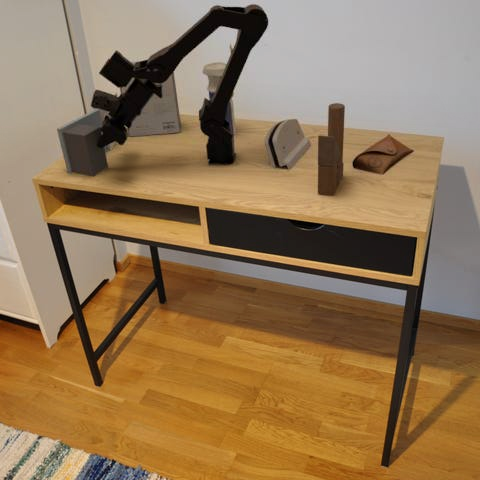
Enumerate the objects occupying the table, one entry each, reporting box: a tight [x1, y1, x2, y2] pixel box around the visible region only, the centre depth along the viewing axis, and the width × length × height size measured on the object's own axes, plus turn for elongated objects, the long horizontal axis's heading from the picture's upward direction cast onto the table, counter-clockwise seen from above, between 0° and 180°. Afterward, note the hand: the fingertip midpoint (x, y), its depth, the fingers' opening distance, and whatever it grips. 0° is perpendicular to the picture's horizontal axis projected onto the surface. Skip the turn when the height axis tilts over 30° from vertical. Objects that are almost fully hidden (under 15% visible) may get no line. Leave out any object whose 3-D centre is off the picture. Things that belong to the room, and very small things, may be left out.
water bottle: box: [202, 42, 237, 136], centre depth 155 cm, size 8×9×25 cm
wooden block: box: [317, 102, 346, 197], centre depth 125 cm, size 4×11×18 cm, turn 159°
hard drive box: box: [119, 60, 182, 137], centre depth 162 cm, size 16×8×20 cm, turn 94°
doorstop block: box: [63, 124, 109, 177], centre depth 143 cm, size 7×6×11 cm
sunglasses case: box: [352, 134, 415, 176], centre depth 140 cm, size 18×7×7 cm
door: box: [56, 109, 109, 174], centre depth 148 cm, size 3×16×12 cm, turn 153°
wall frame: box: [92, 92, 118, 151], centre depth 157 cm, size 3×11×13 cm, turn 172°
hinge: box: [264, 118, 312, 171], centre depth 144 cm, size 17×5×10 cm, turn 155°
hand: (98, 146), depth 141 cm, fingers closed, pressing on doorstop block
